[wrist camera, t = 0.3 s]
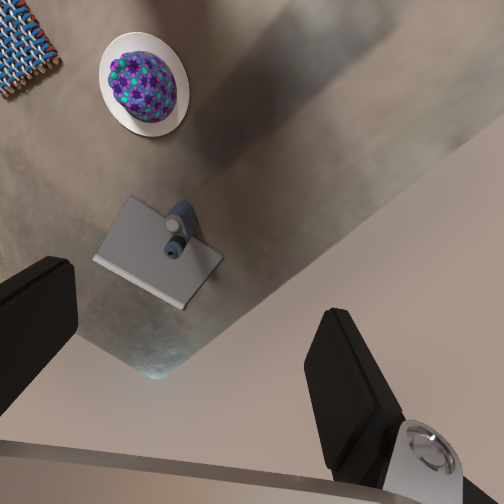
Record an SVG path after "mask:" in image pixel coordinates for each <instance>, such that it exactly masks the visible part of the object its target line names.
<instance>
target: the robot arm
mask: <svg viewBox="0 0 504 504" xmlns="http://www.w3.org/2000/svg"><path fill="white" fill-rule="evenodd" d="M77 328H78V312H77V298H76V285H75V271H74V266H73V265H72V264H70V262H69V260H67V259H64V258H58V257H53V256H47V257H45V258H43V259H41V260H40V261H38V262H36V263H35V264H33V265H31V266H29V267H28V268H26V269H24V270H23V271H21V272H19V273H18V274H16V275H14V276H12V277H11V278H9V279H7V280H6V281H4V282H2V283H1V284H0V416H1V415H2V414H3V413H4V412H5V411H6V410H7V409H8V407H9V406H10V405H11V404H12V403H13V402H14V401H15V399H16V398H17V397H18V396H19V395H20V394H21V393H22V392H23V391H24V389H25V388H26V387H27V386H28V385H29V384H30V383H31V382H32V381H33V380H34V378H35V377H36V376H37V375H38V374H39V373H40V372H41V370H42V369H43V368H44V367H45V366H46V365H47V364H48V363H49V361H51V359H52V358H53V357H54V356H55V355H56V354H57V353H58V352H59V350H60V349H61V348H62V347H63V346H64V345H65V343H66V342H68V340H69V339H70V338H71V337H72V336H73V335H74V334H75V332H76V330H77ZM304 371H305V376H306V380H307V384H308V389H309V393H310V398H311V402H312V407H313V411H314V416H315V420H316V424H317V429H318V433H319V438H320V442H321V447H322V451H323V456H324V460H325V464H326V466H327V468H328V469H331V471H332V475H333V479H334V481H330V480H323V479H316V478H310V477H303V476H296V475H288V474H280V473H272V472H264V471H256V470H248V469H240V468H231V467H224V466H217V465H208V464H201V463H193V462H184V461H176V460H167V459H160V458H151V457H142V456H135V455H126V454H118V453H109V452H101V451H93V450H84V449H76V448H67V447H57V446H50V445H41V444H32V443H24V442H15V441H6V440H0V504H498V503H497V502H496V501H494V500H493V499H492V498H491V497H489V496H488V495H487V494H485V493H484V492H483V491H482V490H481V489H479V488H478V487H477V486H476V485H474V484H473V483H472V482H471V481H469V480H468V479H467V478H465V477H464V476H463V470H462V464H461V462H460V459H459V457H458V455H457V453H456V452H455V450H454V449H453V448H452V446H451V445H450V444H449V443H448V441H446V439H445V438H444V437H443V436H442V435H441V434H439V433H438V432H437V431H436V430H434V429H433V428H432V427H430V426H428V425H426V424H424V423H422V422H419V421H416V420H406V419H405V417H404V416H403V414H402V409H401V407H400V405H399V403H398V401H397V399H396V398H395V396H394V394H393V392H392V391H391V389H390V387H389V385H388V383H387V381H386V380H385V378H384V376H383V374H382V372H381V370H380V369H379V367H378V365H377V363H376V361H375V360H374V358H373V356H372V354H371V352H370V350H369V349H368V347H367V345H366V343H365V341H364V340H363V338H362V336H361V334H360V332H359V330H358V329H357V327H356V325H355V323H354V321H353V320H352V318H351V316H350V314H349V312H348V311H347V310H343V309H338V308H331V309H330V310H329V311H328V310H327V311H325V312H324V315H323V317H322V320H321V322H320V324H319V327H318V329H317V332H316V334H315V337H314V339H313V342H312V344H311V347H310V349H309V352H308V354H307V357H306V359H305V362H304Z"/></svg>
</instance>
